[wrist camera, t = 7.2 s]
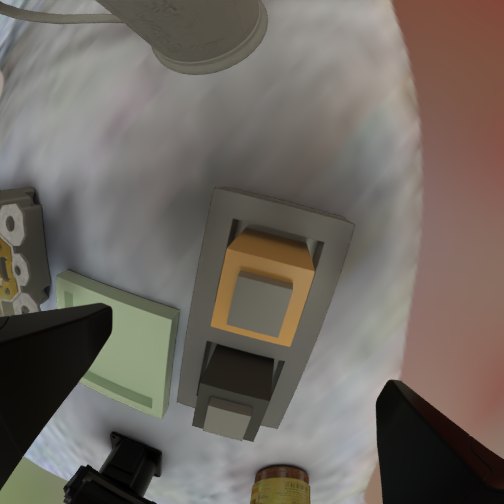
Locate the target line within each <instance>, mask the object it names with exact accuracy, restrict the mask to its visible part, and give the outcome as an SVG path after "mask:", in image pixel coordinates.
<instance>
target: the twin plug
mask: <svg viewBox="0 0 504 504" xmlns="http://www.w3.org/2000/svg"><path fill="white" fill-rule="evenodd" d="M273 369H274V359H273V358H269V357H265V356H261V355H257V354H253V353H249V352H246V351H242V350H238V349H234V348H231V347H227V346H224V345H220V344H217V345H216V347H215V350H214V352H213V354H212V357H211V359H210V361H209V364H208V366H207V368H206V370H205V373H204V375H203V377H202V380H201V382H200V386H199V391H198V396H197V402H196V407H195V412H194V418H193V423H192V426H195V427H199V428H202V429H203V431H206V432H210V433H213V434H217V435H220V436H224V437H228V438H232V439H236V440H240V441H242V439H244V440H248V441H252V442H253V441H254V439H255V437H256V434H257V432H258V430H259V427H260V425H261V422H262V420H263V418H264V415H265V413H266V410H267V408H268V405H269V403H270V398H271V389H272V379H273Z"/></svg>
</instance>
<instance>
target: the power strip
mask: <svg viewBox="0 0 504 504" xmlns="http://www.w3.org/2000/svg"><path fill="white" fill-rule="evenodd" d="M245 228H250V229H254V230H258V231H262V232H266V233H269V234H273V235H277V236H281V237H285V238H289V239H293V240H296V241H300V242H304V243H307V246H308V249H309V252H310V255H311V259H312V262H313V266H314V269H315V274H314V277H313V280H312V283H311V287H310V290H309V293H308V296H307V299H306V302H305V305H304V308H303V311H302V314H301V317H300V320H299V323H298V326H297V329H296V332H295V335H294V337H293V340H292V343H291V346H290V347H288V346H284V345H279V344H275V343H271V342H267V341H263V340H259V339H255V338H251V337H248V336H244V335H240V334H236V333H233V332H229V331H225V330H222V329H218V328H215V327H211V321H212V316H213V311H214V307H215V302H216V297H217V292H218V287H219V283H220V278H221V273H222V268H223V264H224V259H225V255H226V250H227V248H228V247H229V246H230V244H231V243H232V242H233V241H234V240H235V239H236V238H237V237H238V235H239V234H240V233H241V232H242V231H243V230H244V229H245ZM354 228H355V224H353V223H352V222H350V221H349V220H347V219H346V218H343V217H340V216H336V215H333V214H329V213H326V212H322V211H319V210H315V209H311V208H308V207H304V206H300V205H296V204H293V203H289V202H285V201H281V200H277V199H273V198H269V197H265V196H261V195H257V194H253V193H249V192H245V191H241V190H237V189H232V188H228V187H219V188H214V191H213V195H212V200H211V204H210V209H209V214H208V219H207V223H206V228H205V233H204V238H203V243H202V248H201V253H200V259H199V264H198V269H197V275H196V280H195V286H194V291H193V297H192V303H191V309H190V315H189V321H188V327H187V333H186V340H185V346H184V353H183V360H182V367H181V374H180V381H179V389H178V397H177V402H178V403H181V404H184V405H187V406H190V407H193V408H195V407H196V402H197V396H198V391H199V386H200V382H201V380H202V377H203V375H204V373H205V370H206V368H207V366H208V364H209V361H210V359H211V357H212V354H213V352H214V350H215V347H216V345H217V344H220V345H224V346H227V347H231V348H234V349H238V350H242V351H246V352H249V353H253V354H257V355H261V356H265V357H269V358H273V359H274V369H273V379H272V389H271V398H270V403H269V405H268V408H267V410H266V413H265V415H264V418H263V420H262V422H261V426H266V427H271V428H276V429H278V427H279V425H280V423H281V421H282V419H283V416H284V414H285V412H286V410H287V408H288V406H289V404H290V401H291V399H292V397H293V395H294V392H295V390H296V388H297V386H298V383H299V381H300V379H301V376H302V374H303V372H304V369H305V367H306V364H307V362H308V360H309V357H310V355H311V352H312V350H313V347H314V345H315V342H316V340H317V337H318V334H319V332H320V329H321V327H322V324H323V321H324V319H325V316H326V313H327V310H328V308H329V305H330V302H331V299H332V296H333V294H334V291H335V288H336V285H337V282H338V279H339V276H340V273H341V270H342V267H343V264H344V261H345V257H346V254H347V251H348V248H349V244H350V241H351V238H352V234H353V231H354Z"/></svg>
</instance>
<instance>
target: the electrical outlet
mask: <svg viewBox="0 0 504 504" xmlns="http://www.w3.org/2000/svg"><path fill="white" fill-rule="evenodd" d="M34 193H35V190H34V189H33V188H32V187H29V188H19V189H10V190H2V191H0V317H3V316H11V315H19V314H26V313H28V312H29V311H30V313H33V312H40V311H41V309H40V304H42V303H44V302H45V301H47V299H48V298H49V297H48V296H47V294H46V293H45V288H46V287H48V286H49V285H51V279H50V274H49V268H48V262H47V255H46V247H45V239H44V230H43V219H42V208H41V205H36V204H34V201H33V196H34Z"/></svg>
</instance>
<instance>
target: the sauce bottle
mask: <svg viewBox="0 0 504 504" xmlns="http://www.w3.org/2000/svg"><path fill="white" fill-rule="evenodd" d="M308 484H309V478H308V475H307V474H306V473H305V472H304V471H302V470H299V469H298V468H294V467H287V466H282V467H271V468H267V469H264V470H262V471H261V472H259V473H258V474H257V476H256V478H255V484H254V485H253V487H252V494H251V501H250V504H310V486H309V485H308Z"/></svg>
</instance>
